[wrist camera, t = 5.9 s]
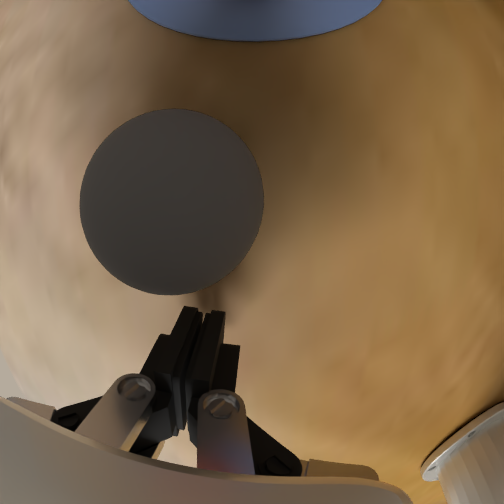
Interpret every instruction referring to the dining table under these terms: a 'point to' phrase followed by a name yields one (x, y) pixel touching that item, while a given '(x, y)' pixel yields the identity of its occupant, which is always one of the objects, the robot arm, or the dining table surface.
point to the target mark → (254, 17)
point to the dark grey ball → (171, 202)
